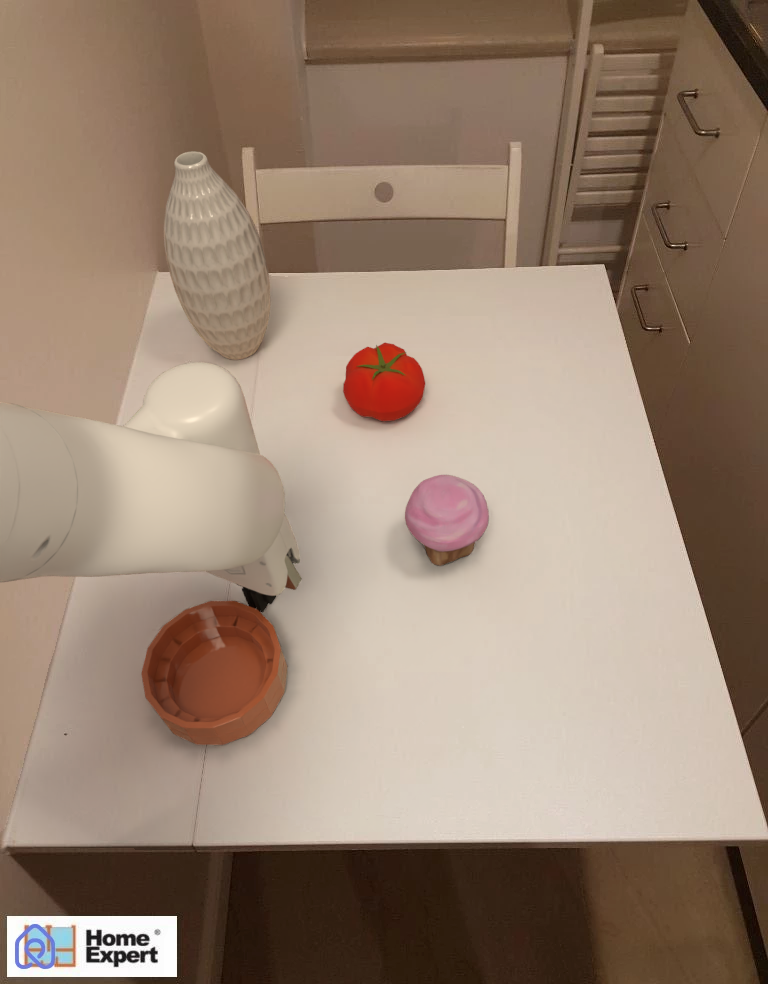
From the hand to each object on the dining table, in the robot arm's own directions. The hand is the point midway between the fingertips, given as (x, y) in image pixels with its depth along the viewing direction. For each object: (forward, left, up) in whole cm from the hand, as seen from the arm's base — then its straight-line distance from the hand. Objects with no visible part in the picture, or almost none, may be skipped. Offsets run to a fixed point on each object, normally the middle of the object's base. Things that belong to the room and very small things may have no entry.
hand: (263, 598), depth 76 cm
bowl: (-9, 0, -2) cm, 9 cm away
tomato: (+34, +1, -2) cm, 34 cm away
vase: (+37, +26, -2) cm, 45 cm away
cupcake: (+15, -15, -2) cm, 21 cm away
